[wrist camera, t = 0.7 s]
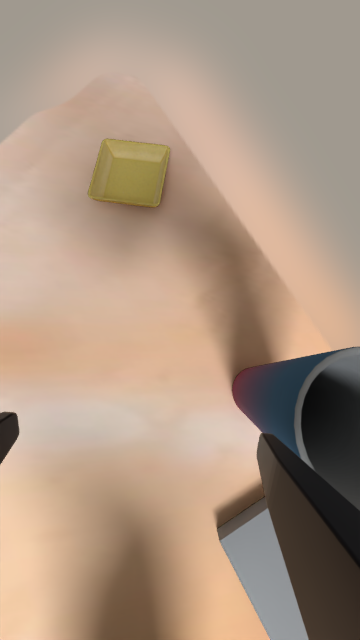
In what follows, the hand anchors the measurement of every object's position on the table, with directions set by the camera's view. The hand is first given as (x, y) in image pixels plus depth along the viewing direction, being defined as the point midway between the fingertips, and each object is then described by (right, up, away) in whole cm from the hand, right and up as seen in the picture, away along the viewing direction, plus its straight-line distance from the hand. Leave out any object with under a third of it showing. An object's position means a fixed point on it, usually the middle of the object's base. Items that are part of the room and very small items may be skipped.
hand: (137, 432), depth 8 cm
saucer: (-4, +22, +21) cm, 31 cm away
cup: (+10, -3, +16) cm, 19 cm away
